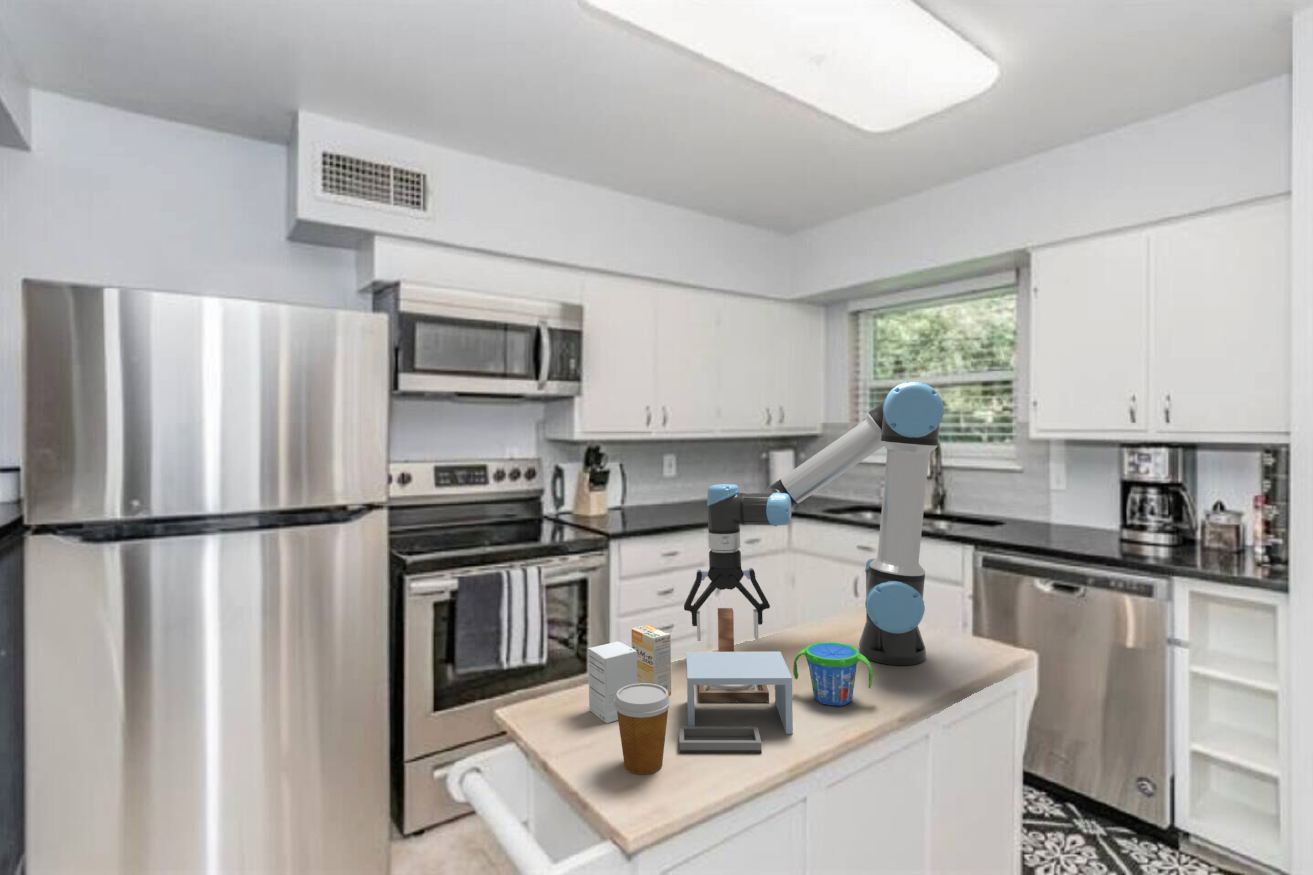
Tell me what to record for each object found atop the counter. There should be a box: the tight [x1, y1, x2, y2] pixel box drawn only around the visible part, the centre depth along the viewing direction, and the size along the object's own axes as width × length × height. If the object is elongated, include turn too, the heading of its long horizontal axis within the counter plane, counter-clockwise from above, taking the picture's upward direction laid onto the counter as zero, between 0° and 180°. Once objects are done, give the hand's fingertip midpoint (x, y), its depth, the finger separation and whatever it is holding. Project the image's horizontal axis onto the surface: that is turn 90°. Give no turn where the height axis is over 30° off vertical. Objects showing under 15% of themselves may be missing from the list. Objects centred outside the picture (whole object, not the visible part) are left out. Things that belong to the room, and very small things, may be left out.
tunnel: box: [686, 651, 794, 735], centre depth 128 cm, size 19×14×10 cm
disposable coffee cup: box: [614, 683, 672, 775], centre depth 110 cm, size 10×10×12 cm
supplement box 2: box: [630, 624, 672, 696], centre depth 140 cm, size 8×5×13 cm, turn 37°
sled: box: [697, 607, 770, 703], centre depth 147 cm, size 14×26×12 cm, turn 178°
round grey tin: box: [707, 685, 757, 691], centre depth 141 cm, size 10×10×4 cm
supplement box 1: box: [587, 641, 638, 724], centre depth 131 cm, size 7×7×13 cm
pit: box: [678, 726, 763, 754], centre depth 117 cm, size 14×6×2 cm, turn 88°
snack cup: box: [792, 641, 874, 707], centre depth 135 cm, size 16×10×10 cm
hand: (727, 638), depth 159 cm, fingers open, 13 cm apart
